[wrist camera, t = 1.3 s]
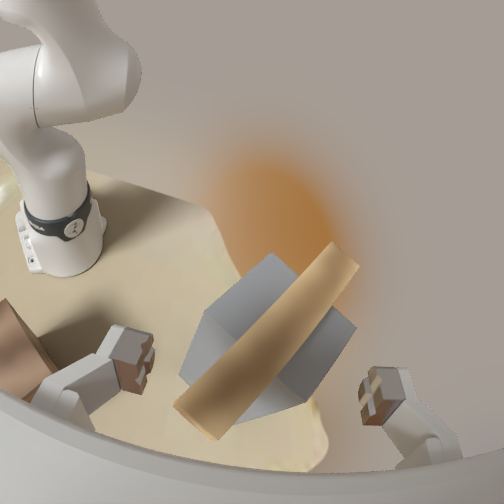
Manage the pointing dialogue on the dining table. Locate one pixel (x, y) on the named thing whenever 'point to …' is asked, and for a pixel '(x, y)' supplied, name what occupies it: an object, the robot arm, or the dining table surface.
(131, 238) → the dining table surface
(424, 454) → the robot arm
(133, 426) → the dining table surface
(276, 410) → the tall stand
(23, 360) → the walnut block
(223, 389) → the oak bar
